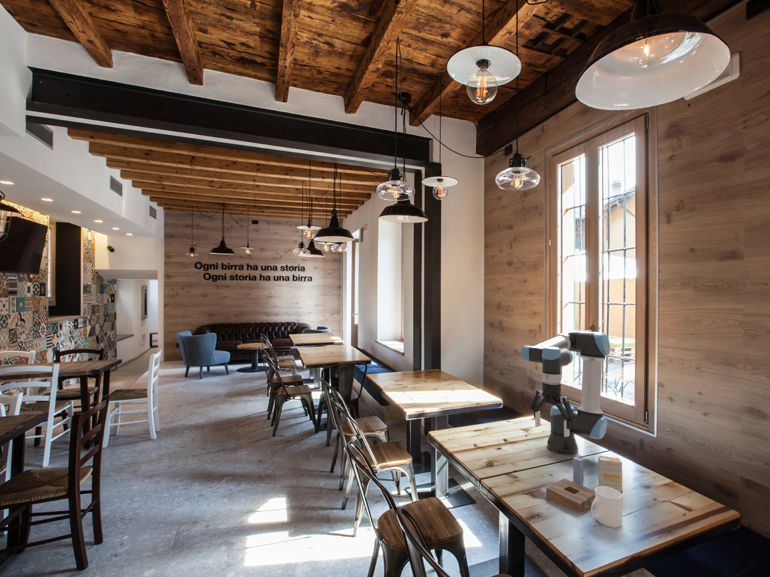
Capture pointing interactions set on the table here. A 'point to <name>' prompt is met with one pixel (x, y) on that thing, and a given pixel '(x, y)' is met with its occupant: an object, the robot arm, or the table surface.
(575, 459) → the peg
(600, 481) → the supplement box
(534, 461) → the table surface
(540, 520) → the table surface
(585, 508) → the socket block
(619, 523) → the mug
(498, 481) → the table surface
